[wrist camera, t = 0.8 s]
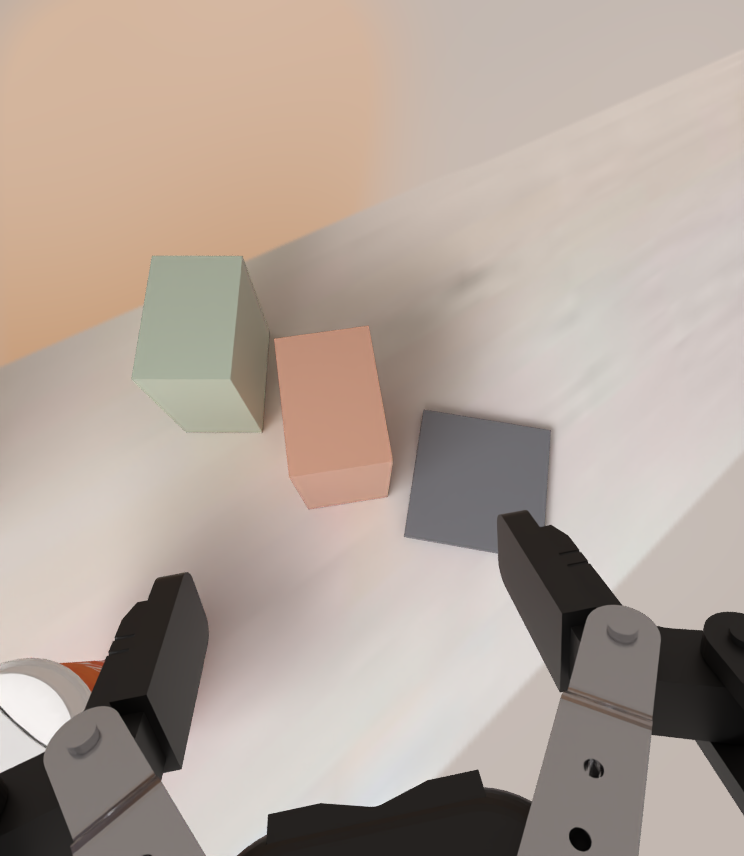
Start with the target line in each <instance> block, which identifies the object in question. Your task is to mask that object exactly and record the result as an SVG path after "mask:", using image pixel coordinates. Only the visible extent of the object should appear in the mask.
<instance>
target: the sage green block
mask: <svg viewBox="0 0 744 856" xmlns="http://www.w3.org/2000/svg"><path fill="white" fill-rule="evenodd" d="M269 333H270V332H269V329H268V326H267V323H266V321H265V318H264V315H263V312H262V309H261V307H260V304H259V301H258V298H257V296H256V293H255V290H254V287H253V284H252V282H251V279H250V276H249V273H248V270H247V268H246V265H245V262H244V259H243V256H152V259H151V265H150V271H149V277H148V282H147V289H146V294H145V300H144V306H143V312H142V318H141V324H140V330H139V336H138V342H137V348H136V354H135V360H134V366H133V372H132V378H131V379H132V380H133V381H134V382H135V383H136V384H137V385H138V386H139V387H140V388H141V389H142V390H143V391H144V392H145V393H146V394H147V395H148V396H149V397H150V398H151V399H152V400H153V401H154V402H155V403H156V404H157V405H158V406H159V407H160V408H161V409H162V410H163V411H164V412H165V413H167V414H168V415H169V416H170V417H171V418H172V419H173V420H174V421H175V422H176V423H177V424H178V425H179V426H180V427H181V428H182V429H183V430H184V431H185V432H186V433H262V429H263V415H264V402H265V388H266V374H267V360H268V347H269Z"/></svg>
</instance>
